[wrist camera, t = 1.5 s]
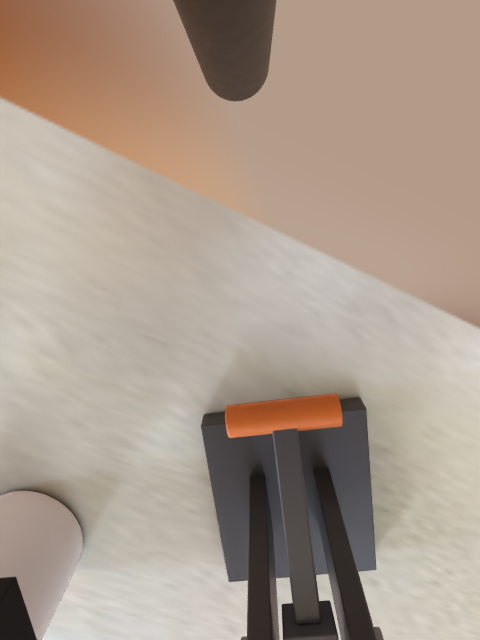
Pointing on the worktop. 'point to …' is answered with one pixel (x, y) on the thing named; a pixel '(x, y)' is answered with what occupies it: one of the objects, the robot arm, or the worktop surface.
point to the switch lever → (293, 499)
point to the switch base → (323, 511)
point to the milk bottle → (38, 551)
